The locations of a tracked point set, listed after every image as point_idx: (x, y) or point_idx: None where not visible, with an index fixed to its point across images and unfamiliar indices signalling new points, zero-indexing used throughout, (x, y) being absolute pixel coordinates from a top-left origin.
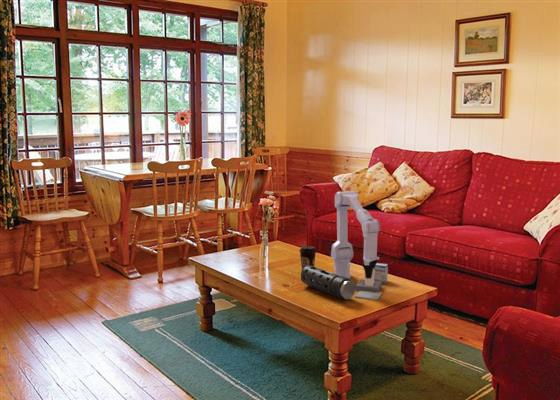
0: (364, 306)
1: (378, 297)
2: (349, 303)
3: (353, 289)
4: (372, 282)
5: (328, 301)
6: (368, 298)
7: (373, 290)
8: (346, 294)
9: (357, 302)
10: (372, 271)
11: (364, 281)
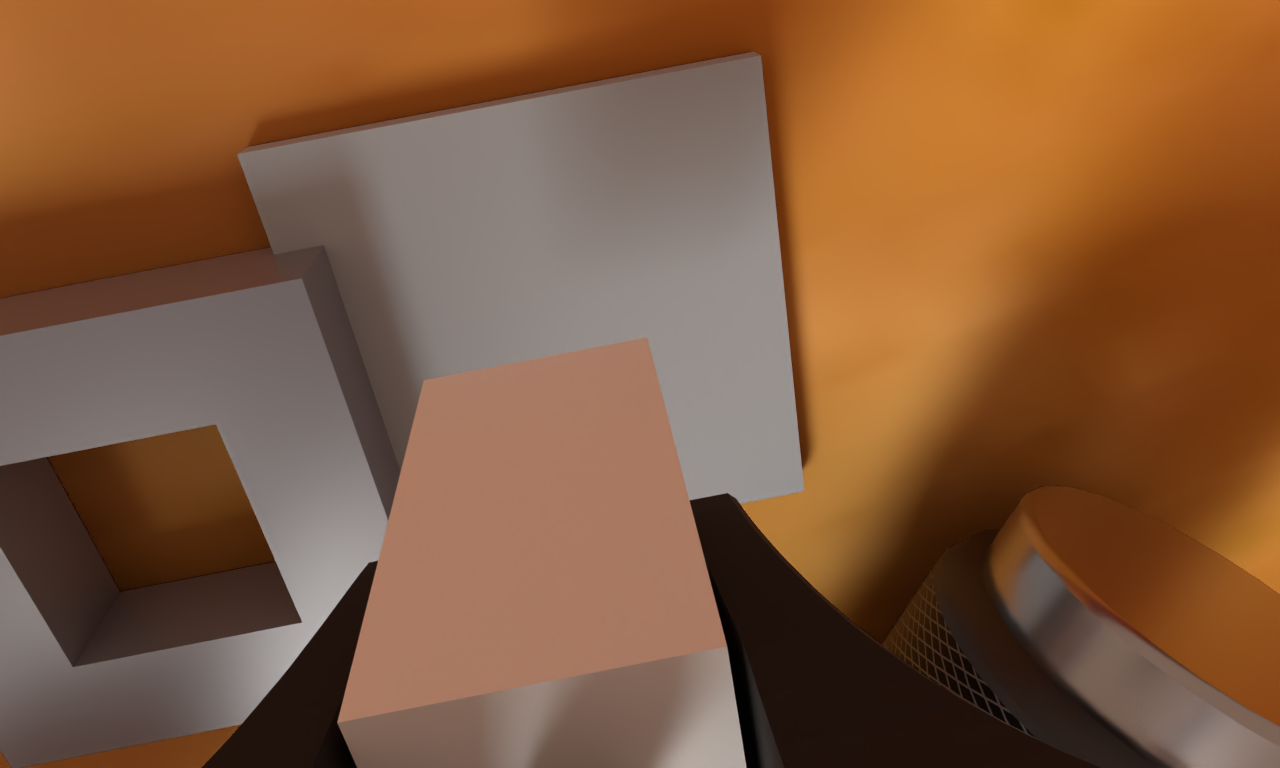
0: (1195, 155)
1: (646, 86)
2: (1119, 434)
3: (1105, 569)
4: (656, 384)
5: None
6: (779, 256)
7: (347, 339)
8: (1220, 576)
9: (1024, 348)
10: (720, 631)
11: (80, 671)
